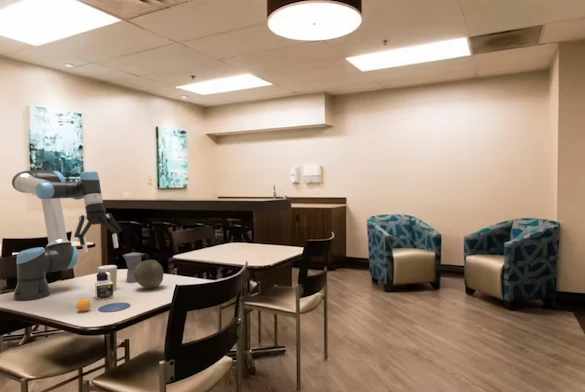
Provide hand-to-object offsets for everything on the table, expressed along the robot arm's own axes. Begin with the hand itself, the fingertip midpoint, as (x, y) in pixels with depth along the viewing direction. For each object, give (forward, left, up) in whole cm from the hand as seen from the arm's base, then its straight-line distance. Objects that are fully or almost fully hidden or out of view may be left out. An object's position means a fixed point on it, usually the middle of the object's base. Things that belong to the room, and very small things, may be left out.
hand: (101, 249), depth 179 cm
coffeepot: (+15, +42, -25) cm, 51 cm away
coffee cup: (+1, +28, -25) cm, 38 cm away
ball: (-7, -7, -22) cm, 24 cm away
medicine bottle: (0, +13, -25) cm, 28 cm away
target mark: (+5, -7, -25) cm, 26 cm away
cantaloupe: (+21, +20, -25) cm, 38 cm away
